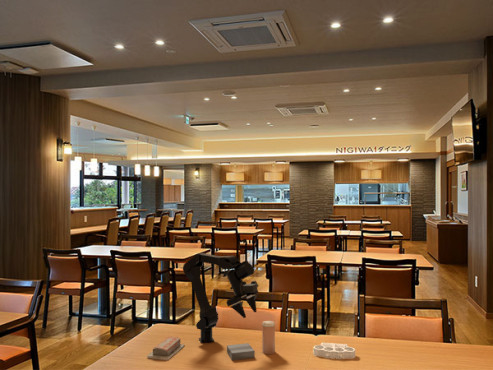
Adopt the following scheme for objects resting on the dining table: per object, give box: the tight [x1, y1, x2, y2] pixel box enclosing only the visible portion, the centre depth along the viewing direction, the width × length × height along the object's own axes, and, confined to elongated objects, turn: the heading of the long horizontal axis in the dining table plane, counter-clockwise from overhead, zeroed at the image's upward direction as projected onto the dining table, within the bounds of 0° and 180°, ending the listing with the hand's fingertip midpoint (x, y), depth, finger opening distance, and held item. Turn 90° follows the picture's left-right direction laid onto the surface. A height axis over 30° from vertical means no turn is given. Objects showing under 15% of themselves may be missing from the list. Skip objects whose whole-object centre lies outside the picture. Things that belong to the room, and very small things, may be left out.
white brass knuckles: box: [312, 342, 356, 360], centre depth 191 cm, size 3×18×15 cm
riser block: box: [226, 342, 256, 361], centre depth 191 cm, size 10×10×3 cm
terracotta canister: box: [261, 320, 276, 355], centre depth 194 cm, size 6×6×13 cm
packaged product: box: [146, 336, 185, 361], centre depth 195 cm, size 18×5×10 cm
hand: (250, 314), depth 195 cm, fingers open, 9 cm apart
